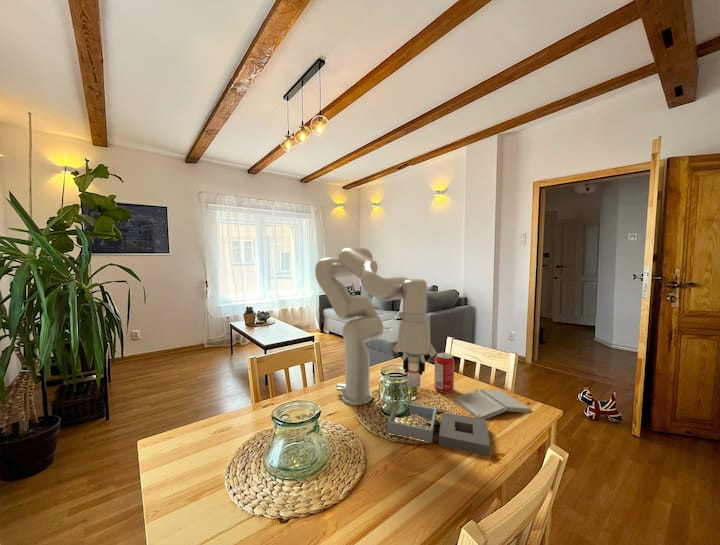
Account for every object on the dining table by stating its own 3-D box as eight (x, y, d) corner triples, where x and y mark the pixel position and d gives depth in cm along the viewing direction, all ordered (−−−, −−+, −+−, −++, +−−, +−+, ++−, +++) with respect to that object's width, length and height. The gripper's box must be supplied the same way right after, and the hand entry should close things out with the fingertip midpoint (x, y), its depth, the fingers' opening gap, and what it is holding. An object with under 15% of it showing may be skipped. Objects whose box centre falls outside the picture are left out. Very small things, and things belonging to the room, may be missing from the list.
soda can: (433, 392, 123) (434, 357, 122) (434, 384, 130) (435, 351, 129) (453, 395, 120) (454, 359, 119) (453, 387, 128) (454, 353, 127)
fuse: (406, 386, 96) (406, 356, 96) (408, 381, 100) (408, 352, 100) (419, 388, 95) (419, 357, 94) (421, 382, 99) (421, 353, 98)
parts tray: (386, 434, 94) (387, 422, 94) (396, 412, 107) (396, 401, 107) (431, 443, 90) (432, 431, 89) (436, 419, 103) (436, 408, 103)
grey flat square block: (438, 445, 89) (438, 435, 89) (442, 420, 102) (442, 412, 102) (489, 456, 84) (489, 446, 84) (486, 428, 97) (486, 419, 97)
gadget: (501, 394, 123) (502, 385, 123) (532, 412, 109) (532, 403, 108) (453, 401, 117) (454, 392, 116) (479, 422, 102) (479, 412, 102)
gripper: (386, 317, 95) (386, 373, 96) (440, 321, 90) (439, 380, 91) (391, 313, 102) (391, 365, 104) (442, 316, 97) (441, 371, 98)
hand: (413, 371), depth 97 cm, fingers closed on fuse, 4 cm apart
